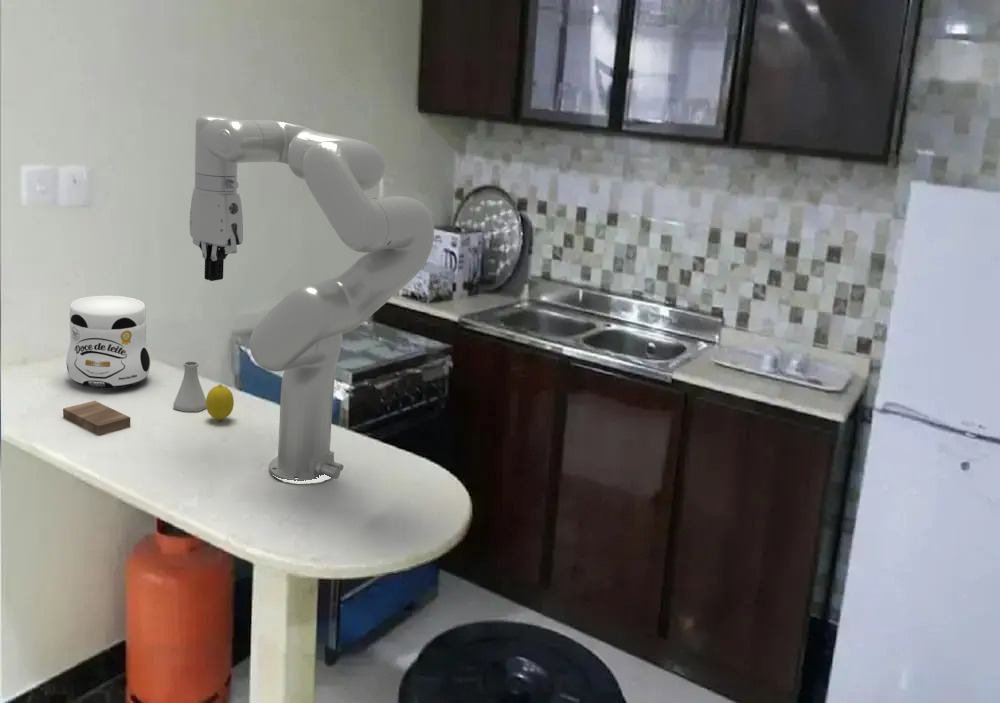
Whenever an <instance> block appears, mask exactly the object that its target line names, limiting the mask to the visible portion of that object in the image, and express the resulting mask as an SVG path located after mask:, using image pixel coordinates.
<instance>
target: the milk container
mask: <svg viewBox="0 0 1000 703" xmlns="http://www.w3.org/2000/svg"><path fill="white" fill-rule="evenodd" d="M146 313H147V312H146V305H145V302H143V301H142V300H141V299H137V298H133V297H129V296H123V295H111V294H110V295H108V294H107V295H89V296H85V297H81V298H80V297H79V298H76V299H75V300H72V301H71V303H70V308H69V332H70V336H69V337H70V341H69V347H68V350H67V355H66V360H65V362H66V370H67V374H68V376H69V378H70V379H71V380H72V381H73V382H74V383H75V384H78V385H81V386H82V387H87V388H94V389H106V390H109V389H110V390H111V389H121V388H122V389H123V388H125V387H132V386H134V385H137V384H139V383H141V382H142V381H144V380H145V379H146V378H147V377H148V375H149V374H150V369H151V354H150V350H149V347H148V344H147V320H146V317H147V316H146V315H147V314H146Z"/></svg>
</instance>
